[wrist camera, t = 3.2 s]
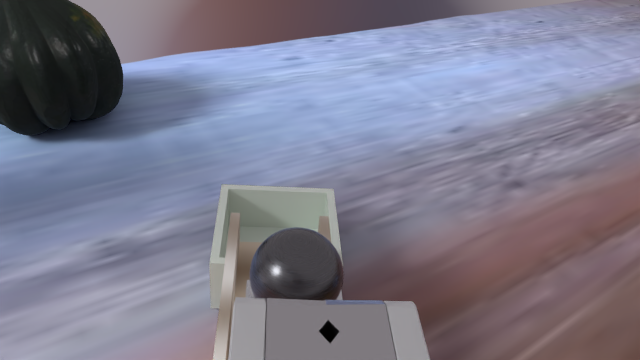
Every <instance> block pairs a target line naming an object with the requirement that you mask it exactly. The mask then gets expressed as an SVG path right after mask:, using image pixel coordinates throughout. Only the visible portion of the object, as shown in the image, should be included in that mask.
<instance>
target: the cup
mask: <svg viewBox="0 0 640 360" xmlns="http://www.w3.org/2000/svg"><path fill="white" fill-rule="evenodd" d="M231 213H240V242H263V241H264V240H265V239H267V238H268V237H269V236H271V235H272V234H274V233H276V232H278V231H280V230H283V229H287V228H294V227H300V228H307V229H310V230H313V231H316V232H318V225H319V216H329V225H330V234H331V243H332V244H333V246H334V247H335V248H336V250H337V252H338V254H339V256H340V258H341V261H342V253H341V245H340V237H339V229H338V221H337V213H336V205H335V197H334V190H333V189H322V188H298V187H274V186H251V185H227V184H222V185H221V191H220V198H219V204H218V211H217V217H216V224H215V230H214V237H213V243H212V250H211V256H210V263H209V265H210V298H211V308H217V309H219V306H220V298H221V289H222V281H223V273H224V265H225V256H226V248H227V240H228V232H229V224H230V215H231ZM342 265H343V261H342Z"/></svg>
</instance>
